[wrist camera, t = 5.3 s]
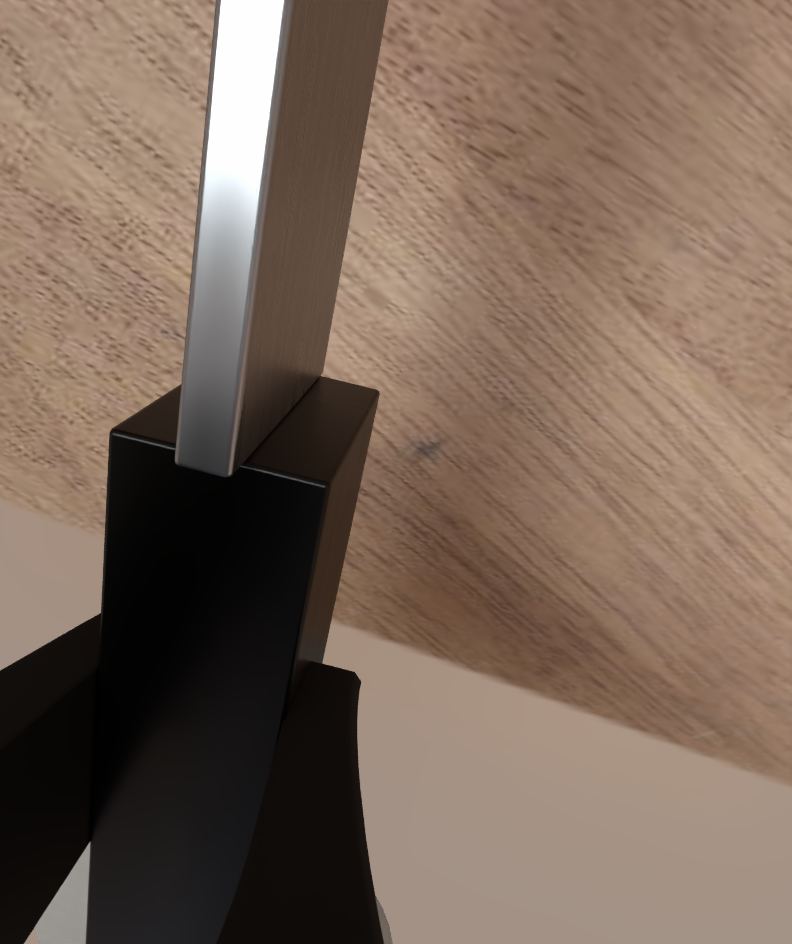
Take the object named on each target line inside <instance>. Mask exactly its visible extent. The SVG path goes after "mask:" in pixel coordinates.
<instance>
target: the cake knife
mask: <svg viewBox="0 0 792 944" xmlns="http://www.w3.org/2000/svg"><path fill="white" fill-rule="evenodd" d="M387 6H388V0H216V7H215V18H214V29H213V40H212V51H211V62H210V73H209V84H208V96H207V107H206V118H205V129H204V140H203V151H202V162H201V173H200V184H199V195H198V206H197V218H196V229H195V240H194V251H193V262H192V273H191V284H190V295H189V306H188V317H187V329H186V340H185V351H184V362H183V373H182V384H181V385H179V386H177V387H176V388H174V389H173V390H171V391H170V392H168V393H167V394H165V395H164V396H162V397H160V398H159V399H157V400H156V401H154V402H153V403H151V404H150V405H148V406H146V407H145V408H143V409H142V410H140V411H139V412H137V413H136V414H134V415H133V416H131V417H129V418H128V419H126V420H125V421H123V422H122V423H120V424H119V425H117V426H115V427H114V428H112V430H111V431H110V436H109V457H108V478H107V500H106V521H105V543H104V563H103V564H104V565H103V585H102V607H101V627H100V648H99V669H98V691H97V712H96V733H95V754H94V775H93V797H92V818H91V839H90V860H89V882H88V903H87V924H86V944H216V943H217V940H218V938H219V935H220V933H221V930H222V927H223V925H224V922H225V920H226V917H227V914H228V912H229V909H230V907H231V904H232V901H233V899H234V896H235V893H236V890H237V887H238V884H239V880H240V877H241V874H242V871H243V868H244V865H245V861H246V858H247V855H248V852H249V848H250V844H251V840H252V837H253V833H254V829H255V825H256V822H257V818H258V814H259V810H260V806H261V803H262V799H263V795H264V791H265V788H266V784H267V780H268V776H269V772H270V769H271V765H272V761H273V757H274V754H275V750H276V746H277V742H278V738H279V735H280V731H281V727H282V723H283V720H284V719H286V718H287V715H288V713H289V710H290V708H291V706H292V703H293V701H294V699H295V696H296V694H297V692H298V690H299V687H300V685H301V683H302V680H303V678H304V676H305V674H306V672H307V670H308V668H309V665H310V663H311V661H314V662H318V663H322V661H323V657H324V652H325V647H326V643H327V638H328V633H329V628H330V624H331V619H332V614H333V610H334V605H335V600H336V596H337V591H338V586H339V582H340V577H341V572H342V568H343V563H344V558H345V554H346V549H347V544H348V540H349V535H350V530H351V526H352V521H353V516H354V512H355V507H356V502H357V498H358V493H359V488H360V484H361V479H362V474H363V470H364V465H365V460H366V456H367V451H368V446H369V442H370V437H371V432H372V428H373V423H374V418H375V413H376V409H377V404H378V399H379V395H380V394H379V391H378V390H376V389H371V388H367V387H363V386H359V385H355V384H351V383H347V382H343V381H339V380H335V379H331V378H327V377H323V376H321V374H322V373H323V369H324V364H325V358H326V352H327V346H328V341H329V335H330V329H331V324H332V318H333V312H334V307H335V301H336V295H337V290H338V284H339V278H340V273H341V267H342V261H343V256H344V250H345V244H346V239H347V233H348V227H349V222H350V216H351V210H352V205H353V199H354V193H355V188H356V182H357V176H358V171H359V165H360V159H361V154H362V148H363V142H364V137H365V131H366V125H367V120H368V114H369V108H370V103H371V97H372V91H373V86H374V80H375V74H376V69H377V63H378V57H379V52H380V46H381V40H382V34H383V29H384V23H385V17H386V12H387Z"/></svg>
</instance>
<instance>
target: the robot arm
mask: <svg viewBox="0 0 792 944" xmlns="http://www.w3.org/2000/svg"><path fill="white" fill-rule="evenodd" d="M100 627H101V613H100V614H99V615H97V616H95V617H93V618H91V619H90V620H88V621H86V622H84V623H82V624H80V625H79V626H77V627H75V628H74V629H72V630H70V631H68V632H67V633H65V634H63V635H61V636H60V637H58V638H56V639H54V640H53V641H51V642H49V643H47V644H46V645H44V646H42V647H41V648H39V649H37V650H35V651H34V652H32V653H30V654H28V655H27V656H25V657H23V658H22V659H20V660H18V661H16V662H15V663H13V664H11V665H9V666H8V667H6V668H4V669H2V670H1V671H0V944H24V942H25V941H26V939H27V938H28V936H29V935H30V933H31V932H32V930H33V929H34V927H35V926H36V924H37V923H38V921H39V920H40V918H41V916H42V915H43V913H44V912H45V910H46V909H47V907H48V906H49V904H50V903H51V901H52V900H53V898H54V897H55V895H56V894H57V892H58V890H59V889H60V887H61V886H62V884H63V883H64V881H65V880H66V878H67V877H68V875H69V874H70V872H71V870H72V869H73V867H74V866H75V864H76V863H77V861H78V860H79V858H80V857H81V855H82V853H83V852H84V850H85V849H86V847H87V846H88V844H89V843H90V839H91V818H92V797H93V775H94V754H95V733H96V712H97V691H98V669H99V648H100ZM360 685H361V681H360V679H359V678H358V676H357V675H356V673H355V672H352V671H349V670H345V669H341V668H337V667H333V666H329V665H325V664H322V663H318V662H314V661H311V663H310V665H309V668H308V670H307V672H306V674H305V676H304V678H303V680H302V683H301V685H300V687H299V690H298V692H297V694H296V696H295V699H294V701H293V703H292V706H291V708H290V710H289V713H288V715H287V718H286V719H284V720H283V723H282V727H281V731H280V735H279V738H278V742H277V746H276V750H275V754H274V757H273V761H272V765H271V769H270V772H269V776H268V780H267V784H266V788H265V791H264V795H263V799H262V803H261V806H260V810H259V814H258V818H257V822H256V825H255V829H254V833H253V837H252V840H251V844H250V848H249V852H248V855H247V858H246V861H245V865H244V868H243V871H242V874H241V877H240V880H239V884H238V887H237V890H236V893H235V896H234V899H233V901H232V904H231V907H230V909H229V912H228V914H227V917H226V920H225V922H224V925H223V927H222V930H221V933H220V935H219V938H218V940H217V943H216V944H384V940H383V935H382V930H381V925H380V920H379V914H378V909H377V903H376V897H375V892H374V886H373V881H372V875H371V869H370V862H369V856H368V849H367V842H366V834H365V826H364V817H363V809H362V799H361V791H360V780H359V768H358V747H357V746H358V745H357V712H358V711H357V710H358V699H359V690H360ZM88 882H89V872H88ZM87 903H88V901H87Z"/></svg>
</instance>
